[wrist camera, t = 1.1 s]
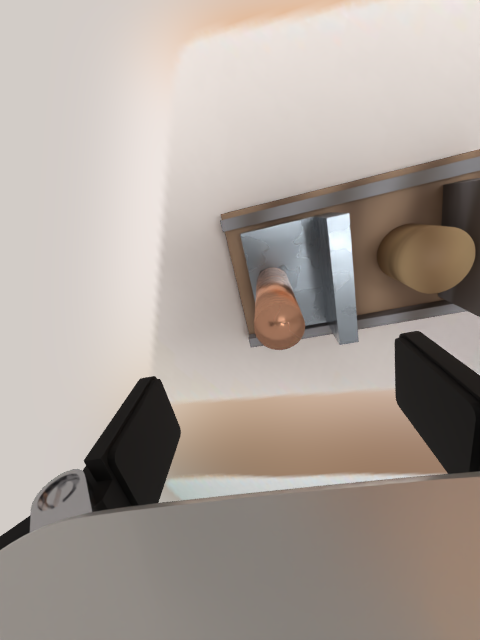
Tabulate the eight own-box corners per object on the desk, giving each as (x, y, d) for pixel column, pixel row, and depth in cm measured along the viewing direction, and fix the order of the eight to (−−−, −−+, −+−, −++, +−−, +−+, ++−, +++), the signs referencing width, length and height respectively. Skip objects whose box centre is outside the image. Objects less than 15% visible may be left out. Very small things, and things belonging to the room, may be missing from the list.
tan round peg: (435, 217, 23) (478, 219, 19) (433, 272, 25) (472, 286, 20) (375, 230, 24) (403, 235, 19) (377, 283, 26) (403, 299, 21)
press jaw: (328, 212, 24) (383, 214, 13) (338, 314, 27) (388, 382, 17) (241, 232, 25) (226, 250, 14) (261, 328, 28) (262, 399, 18)
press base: (471, 151, 23) (564, 126, 16) (459, 304, 28) (526, 336, 21) (222, 214, 26) (208, 215, 19) (252, 340, 31) (250, 377, 24)
